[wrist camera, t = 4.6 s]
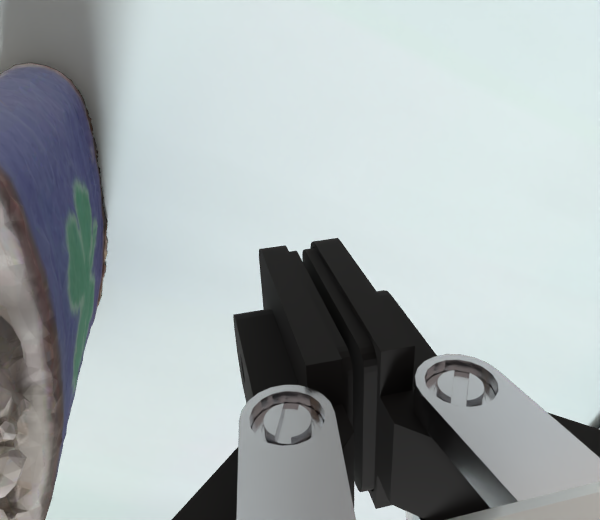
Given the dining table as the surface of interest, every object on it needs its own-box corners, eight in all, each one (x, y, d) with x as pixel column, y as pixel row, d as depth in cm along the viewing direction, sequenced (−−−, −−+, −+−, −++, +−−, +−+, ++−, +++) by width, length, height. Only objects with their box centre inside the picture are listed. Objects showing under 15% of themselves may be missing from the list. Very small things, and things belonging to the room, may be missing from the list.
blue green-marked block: (-10, 56, 15) (-288, 174, 6) (103, 68, 16) (23, 188, 6) (20, 336, 19) (-114, 678, 10) (109, 334, 20) (66, 650, 10)
